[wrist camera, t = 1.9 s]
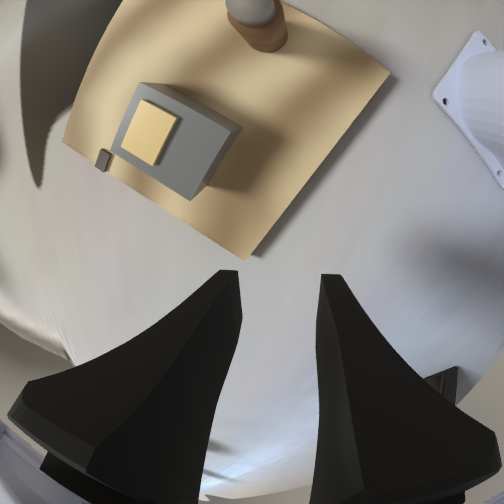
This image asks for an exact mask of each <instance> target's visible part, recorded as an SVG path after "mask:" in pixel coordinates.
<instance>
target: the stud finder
mask: <svg viewBox="0 0 504 504" xmlns="http://www.w3.org/2000/svg"><path fill="white" fill-rule="evenodd" d="M242 128H243V127H241V126H240V125H238V124H237V123H235V122H233V121H232V120H230V119H228V118H226V117H225V116H223V115H221V114H220V113H218V112H216V111H214V110H213V109H211V108H209V107H207V106H205V105H204V104H202V103H200V102H198V101H196V100H195V99H193V98H191V97H189V96H187V95H185V94H183V93H181V92H179V91H177V90H175V89H174V88H172V87H170V86H168V85H166V84H162V83H148V82H139V84H138V86H137V88H136V90H135V92H134V94H133V96H132V98H131V100H130V103H129V105H128V107H127V109H126V112H125V114H124V116H123V119H122V121H121V123H120V126H119V128H118V131H117V133H116V136H115V138H114V141H113V144H112V146H111V149H110V151H111V152H113V153H114V154H116V155H117V156H119V157H121V158H122V159H124V160H125V161H127V162H129V163H130V164H132V165H133V166H135V167H136V168H138V169H140V170H141V171H143V172H144V173H146V174H148V175H149V176H151V177H152V178H154V179H155V180H157V181H159V182H160V183H162V184H163V185H165V186H166V187H168V188H170V189H171V190H173V191H174V192H176V193H177V194H179V195H181V196H182V197H184V198H185V199H187V200H188V201H191V200H192V199H193V198H194V197H195V196H197V195H198V194H199V193H200V192H201V191H202V190H203V189H204V188H205V187H206V186H207V185H208V183H209V181H210V180H211V178H212V176H213V175H214V173H215V171H216V170H217V168H218V166H219V165H220V163H221V161H222V160H223V158H224V157H225V155H226V153H227V152H228V150H229V149H230V147H231V145H232V144H233V142H234V141H235V139H236V137H237V136H238V134H239V133H240V131H241V130H242Z"/></svg>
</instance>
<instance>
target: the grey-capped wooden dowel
mask: <svg viewBox="0 0 504 504" xmlns="http://www.w3.org/2000/svg"><path fill="white" fill-rule="evenodd" d="M225 5H226V8H227V17H228V20H229V22H230V24H231V25H232V26H233V27H234V28H235V29H236V30H237V31H238V33H239V34H240V35H241V36H242V37H243V38H244V39H245V40H246V42H247V43H248V44H249V45H250V46H251V47H252V48H253V49H255V50H257V51H259V52H264V53H270V52H274V51H277V50H279V49H281V48H282V47H283V46H284V45H285V43H286V42H287V39H288V32H287V27H286V21H285V16H284V12H283V7H282V4H281V2H280V1H279V0H225Z"/></svg>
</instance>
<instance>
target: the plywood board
mask: <svg viewBox="0 0 504 504" xmlns="http://www.w3.org/2000/svg"><path fill="white" fill-rule="evenodd" d="M281 4H282V7H283V12H284V16H285V21H286V27H287V32H288V39H287V42H286V43H285V45H284V46H283V47H282V48H281V49H279V50H277V51H274V52H270V53H264V52H259V51H257V50H255V49H253V48H252V47H251V46H250V45H249V44H248V43H247V42H246V40H245V39H244V38H243V37H242V36H241V35H240V34H239V33H238V31H237V30H236V29H235V28H234V27H233V26H232V25H231V24H230V22H229V20H228V17H227V8H226V5H225V0H123V2H122V3H121V5H120V7H119V8H118V10H117V12H116V13H115V15H114V17H113V18H112V20H111V22H110V24H109V25H108V27H107V29H106V31H105V33H104V35H103V37H102V38H101V41H100V42H99V44H98V46H97V48H96V51H95V53H94V55H93V57H92V59H91V61H90V64H89V66H88V68H87V71H86V73H85V75H84V78H83V80H82V83H81V86H80V88H79V90H78V93H77V96H76V99H75V101H74V104H73V107H72V110H71V113H70V116H69V120H68V123H67V126H66V130H65V133H64V137H63V140H62V142H63V143H64V144H66V145H67V146H69V147H70V148H72V149H73V150H75V151H76V152H78V153H79V154H81V155H82V156H84V157H85V158H87V159H88V160H90V161H91V162H93V163H94V164H95V167H97V168H98V169H99V170H101V171H102V172H105V171H106V172H108V173H109V174H111V175H113V176H114V177H116V178H117V179H119V180H120V181H122V182H123V183H125V184H126V185H128V186H129V187H131V188H132V189H134V190H135V191H137V192H138V193H140V194H141V195H143V196H145V197H146V198H148V199H149V200H151V201H152V202H154V203H155V204H157V205H158V206H160V207H161V208H163V209H164V210H166V211H168V212H169V213H171V214H172V215H174V216H175V217H177V218H178V219H180V220H181V221H183V222H185V223H186V224H188V225H189V226H191V227H192V228H194V229H195V230H197V231H199V232H200V233H202V234H203V235H205V236H206V237H208V238H209V239H211V240H213V241H214V242H216V243H217V244H219V245H220V246H222V247H224V248H225V249H227V250H228V251H230V252H231V253H233V254H235V255H236V256H238V257H239V258H241V259H242V260H244V261H246V260H247V258H248V257H249V256H250V255H251V253H252V252H253V251H254V249H255V248H256V247H257V246H258V244H259V243H260V242H261V240H262V239H263V238H264V236H265V235H266V234H267V233H268V231H269V230H270V229H271V227H272V226H273V225H274V223H275V222H276V221H277V220H278V218H279V217H280V216H281V214H282V213H283V212H284V211H285V209H286V208H287V207H288V205H289V204H290V203H291V201H292V200H293V199H294V198H295V196H296V195H297V194H298V192H299V191H300V190H301V188H302V187H303V186H304V185H305V183H306V182H307V181H308V179H309V178H310V177H311V175H312V174H313V173H314V172H315V170H316V169H317V168H318V166H319V165H320V164H321V162H322V161H323V160H324V159H325V157H326V156H327V155H328V153H329V152H330V151H331V150H332V148H333V147H334V146H335V144H336V143H337V142H338V140H339V139H340V138H341V137H342V135H343V134H344V133H345V131H346V130H347V129H348V127H349V126H350V125H351V124H352V122H353V121H354V120H355V118H356V117H357V116H358V114H359V113H360V112H361V111H362V109H363V108H364V107H365V105H366V104H367V103H368V101H369V100H370V99H371V98H372V96H373V95H374V94H375V92H376V91H377V90H378V88H379V87H380V86H381V85H382V83H383V82H384V81H385V79H386V78H387V77H388V75H389V74H390V72H389V71H388V70H387V69H386V68H384V67H383V66H382V65H381V64H379V63H378V62H377V61H376V60H374V59H373V58H372V57H370V56H369V55H368V54H366V53H365V52H364V51H362V50H361V49H360V48H358V47H357V46H355V45H354V44H353V43H351V42H350V41H348V40H347V39H345V38H344V37H342V36H341V35H339V34H338V33H336V32H334V31H333V30H331V29H330V28H328V27H326V26H325V25H323V24H321V23H320V22H318V21H316V20H315V19H313V18H311V17H309V16H307V15H306V14H304V13H302V12H300V11H298V10H296V9H294V8H292V7H290V6H288V5H286V4H284V3H282V2H281ZM139 82H148V83H162V84H166V85H168V86H170V87H172V88H174V89H175V90H177V91H179V92H181V93H183V94H185V95H187V96H189V97H191V98H193V99H195V100H196V101H198V102H200V103H202V104H204V105H205V106H207V107H209V108H211V109H213V110H214V111H216V112H218V113H220V114H221V115H223V116H225V117H226V118H228V119H230V120H232V121H233V122H235V123H237V124H238V125H240V126H241V127H243V128H242V130H241V131H240V133H239V134H238V136H237V137H236V139H235V141H234V142H233V144H232V145H231V147H230V149H229V150H228V152H227V153H226V155H225V157H224V158H223V160H222V161H221V163H220V165H219V166H218V168H217V170H216V171H215V173H214V175H213V176H212V178H211V180H210V181H209V183H208V185H207V186H206V187H205V188H204V189H203V190H202V191H201V192H200V193H199V194H198V195H197V196H195V197H194V198H193V199H192V200H191V201H188V200H187V199H185V198H184V197H182V196H181V195H179V194H177V193H176V192H174V191H173V190H171V189H170V188H168V187H166V186H165V185H163V184H162V183H160V182H159V181H157V180H155V179H154V178H152V177H151V176H149V175H148V174H146V173H144V172H143V171H141V170H140V169H138V168H136V167H135V166H133V165H132V164H130V163H129V162H127V161H125V160H124V159H122V158H121V157H119V156H117V155H116V154H114V153H113V152H111V151H110V149H111V146H112V144H113V141H114V138H115V136H116V133H117V131H118V128H119V126H120V123H121V121H122V119H123V116H124V114H125V112H126V109H127V107H128V105H129V103H130V100H131V98H132V96H133V94H134V92H135V90H136V88H137V86H138V84H139Z"/></svg>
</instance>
